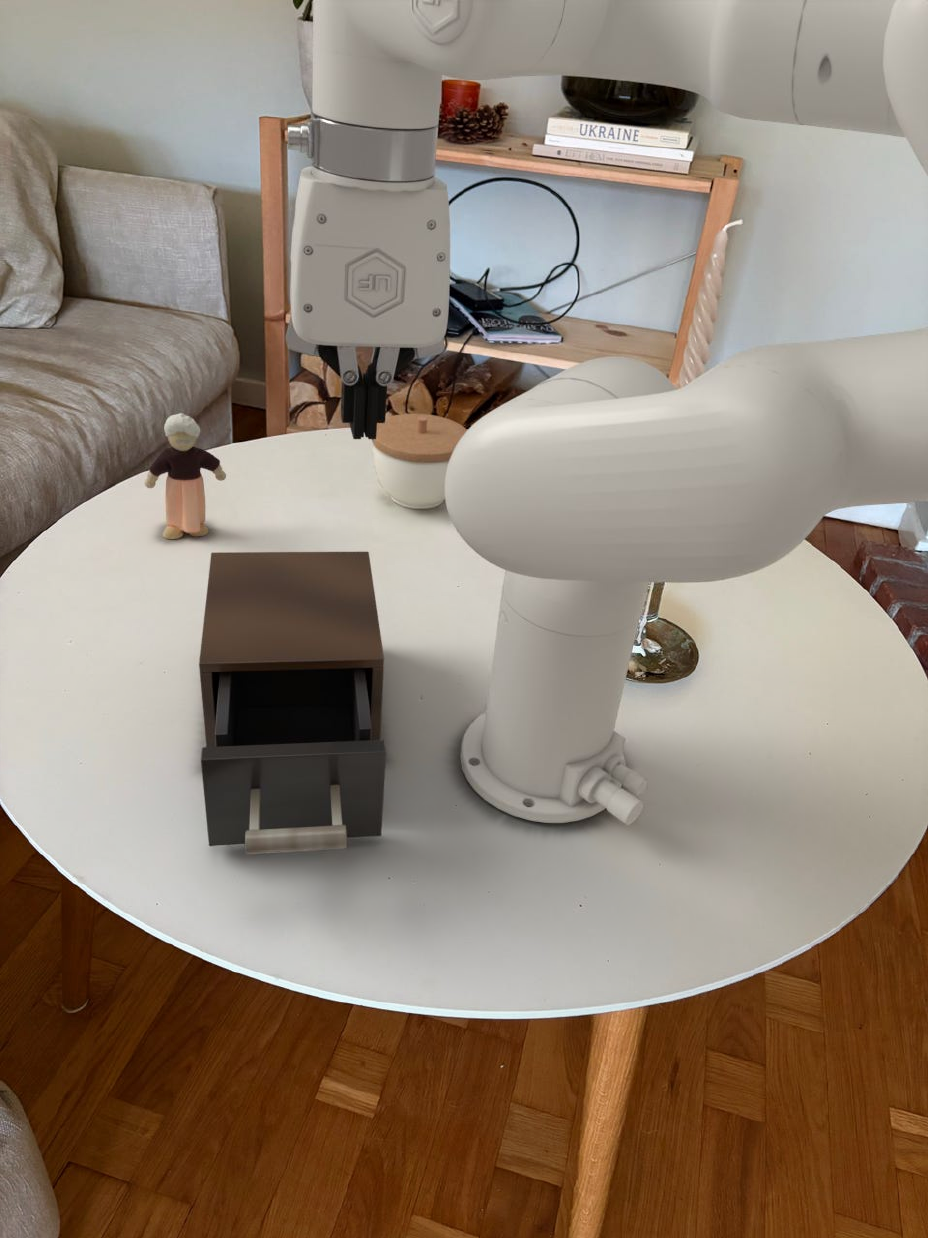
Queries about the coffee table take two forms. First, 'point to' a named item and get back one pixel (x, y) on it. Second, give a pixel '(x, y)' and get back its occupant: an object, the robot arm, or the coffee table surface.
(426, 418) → the trinket box
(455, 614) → the coffee table surface
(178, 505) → the grandmother figurine
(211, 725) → the cabinet
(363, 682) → the pull-out drawer
